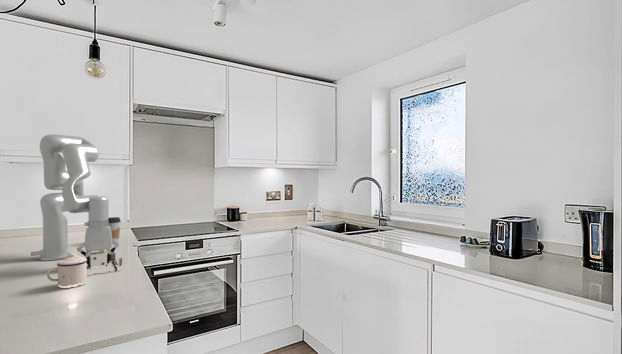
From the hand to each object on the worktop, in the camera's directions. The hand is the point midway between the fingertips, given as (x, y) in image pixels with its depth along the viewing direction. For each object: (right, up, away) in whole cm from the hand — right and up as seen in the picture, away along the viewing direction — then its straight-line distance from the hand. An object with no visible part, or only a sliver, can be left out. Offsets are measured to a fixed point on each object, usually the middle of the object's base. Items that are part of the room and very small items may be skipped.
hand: (98, 263), depth 147 cm
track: (+2, -1, -3) cm, 4 cm away
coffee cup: (-22, -1, +47) cm, 52 cm away
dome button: (-3, -1, +9) cm, 10 cm away
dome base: (-3, -1, +9) cm, 10 cm away
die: (0, -1, 0) cm, 1 cm away
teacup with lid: (+5, -1, -26) cm, 26 cm away
